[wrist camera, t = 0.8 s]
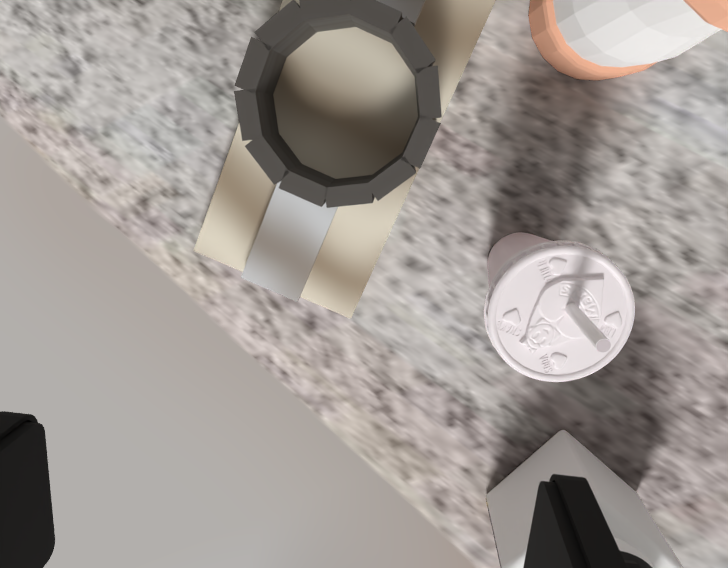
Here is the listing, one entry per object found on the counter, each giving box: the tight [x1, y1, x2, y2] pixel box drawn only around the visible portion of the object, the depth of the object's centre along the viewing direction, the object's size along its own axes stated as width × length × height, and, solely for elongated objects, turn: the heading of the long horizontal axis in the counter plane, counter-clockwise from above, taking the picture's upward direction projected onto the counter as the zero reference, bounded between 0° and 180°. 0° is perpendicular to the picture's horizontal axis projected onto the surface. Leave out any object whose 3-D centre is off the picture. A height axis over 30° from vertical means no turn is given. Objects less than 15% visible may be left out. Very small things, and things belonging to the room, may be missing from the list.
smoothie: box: [483, 232, 635, 382], centre depth 28 cm, size 6×6×14 cm
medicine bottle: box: [486, 430, 683, 568], centre depth 33 cm, size 7×7×12 cm
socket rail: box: [194, 0, 496, 319], centre depth 30 cm, size 22×10×6 cm, turn 157°
